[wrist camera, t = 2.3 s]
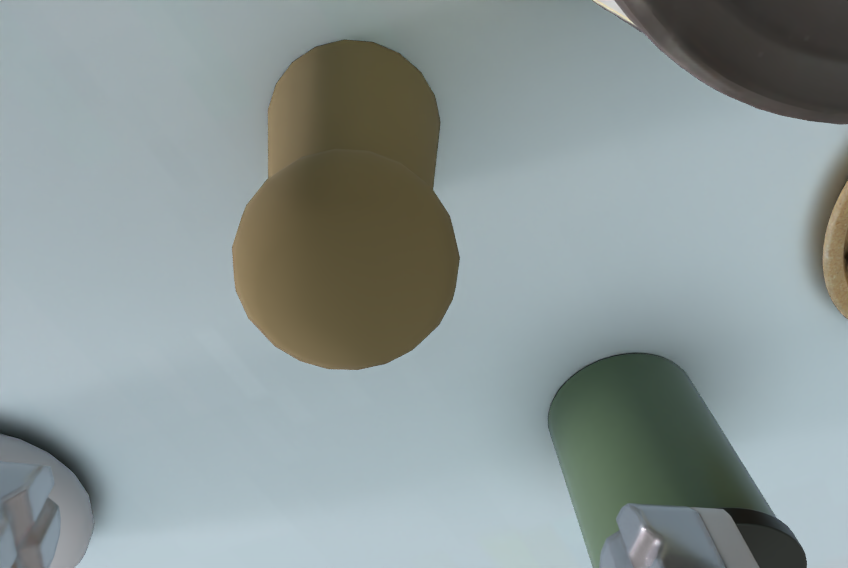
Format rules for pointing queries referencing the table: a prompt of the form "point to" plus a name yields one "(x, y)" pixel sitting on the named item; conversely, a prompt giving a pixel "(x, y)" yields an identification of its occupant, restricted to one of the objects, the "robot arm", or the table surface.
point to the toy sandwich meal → (837, 253)
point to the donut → (58, 500)
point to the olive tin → (655, 455)
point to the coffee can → (755, 49)
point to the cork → (348, 212)
